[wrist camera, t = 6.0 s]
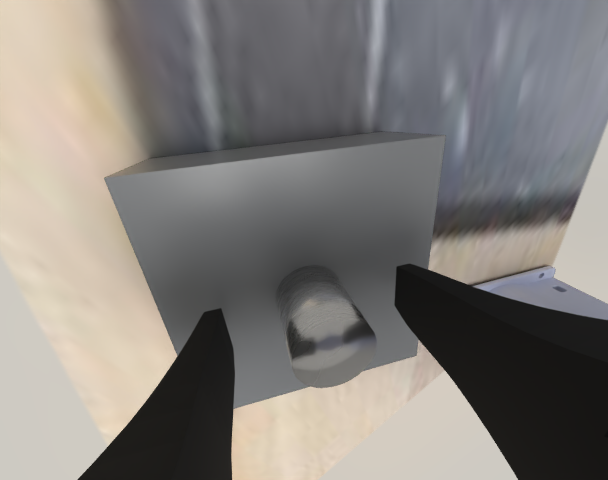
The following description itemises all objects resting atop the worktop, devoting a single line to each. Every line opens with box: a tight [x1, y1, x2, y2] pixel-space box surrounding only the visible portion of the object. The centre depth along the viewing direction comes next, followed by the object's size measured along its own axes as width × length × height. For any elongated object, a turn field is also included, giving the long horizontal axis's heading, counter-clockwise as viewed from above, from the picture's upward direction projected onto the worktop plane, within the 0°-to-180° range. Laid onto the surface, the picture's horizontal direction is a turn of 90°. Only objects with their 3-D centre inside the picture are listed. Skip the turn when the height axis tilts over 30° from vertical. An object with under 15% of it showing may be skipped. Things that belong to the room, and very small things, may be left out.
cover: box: [104, 132, 446, 409], centre depth 12 cm, size 12×12×8 cm
